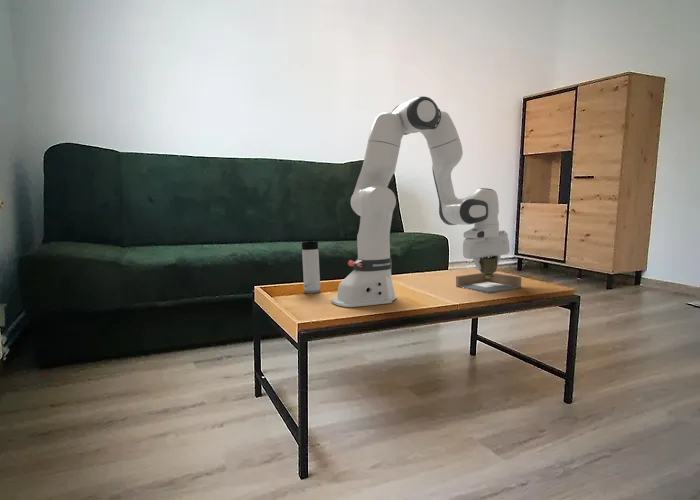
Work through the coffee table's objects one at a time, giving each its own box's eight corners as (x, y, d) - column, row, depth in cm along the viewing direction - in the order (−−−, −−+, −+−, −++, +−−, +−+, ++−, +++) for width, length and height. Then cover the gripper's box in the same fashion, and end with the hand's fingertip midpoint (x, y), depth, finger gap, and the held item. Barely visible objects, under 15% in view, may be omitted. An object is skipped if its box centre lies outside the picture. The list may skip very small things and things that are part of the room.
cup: (501, 278, 168) (499, 257, 168) (480, 280, 169) (478, 259, 168) (496, 274, 176) (494, 254, 175) (477, 276, 177) (475, 256, 176)
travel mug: (305, 294, 172) (302, 241, 170) (303, 291, 179) (300, 240, 177) (321, 293, 173) (319, 240, 171) (319, 290, 180) (316, 239, 178)
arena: (488, 293, 160) (488, 282, 160) (456, 286, 175) (456, 276, 175) (521, 287, 167) (521, 277, 167) (487, 281, 182) (487, 271, 182)
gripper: (500, 229, 178) (501, 264, 180) (459, 233, 169) (460, 270, 171) (513, 230, 173) (513, 266, 174) (471, 234, 164) (472, 272, 165)
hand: (487, 268), depth 172 cm, fingers closed on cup, 7 cm apart
